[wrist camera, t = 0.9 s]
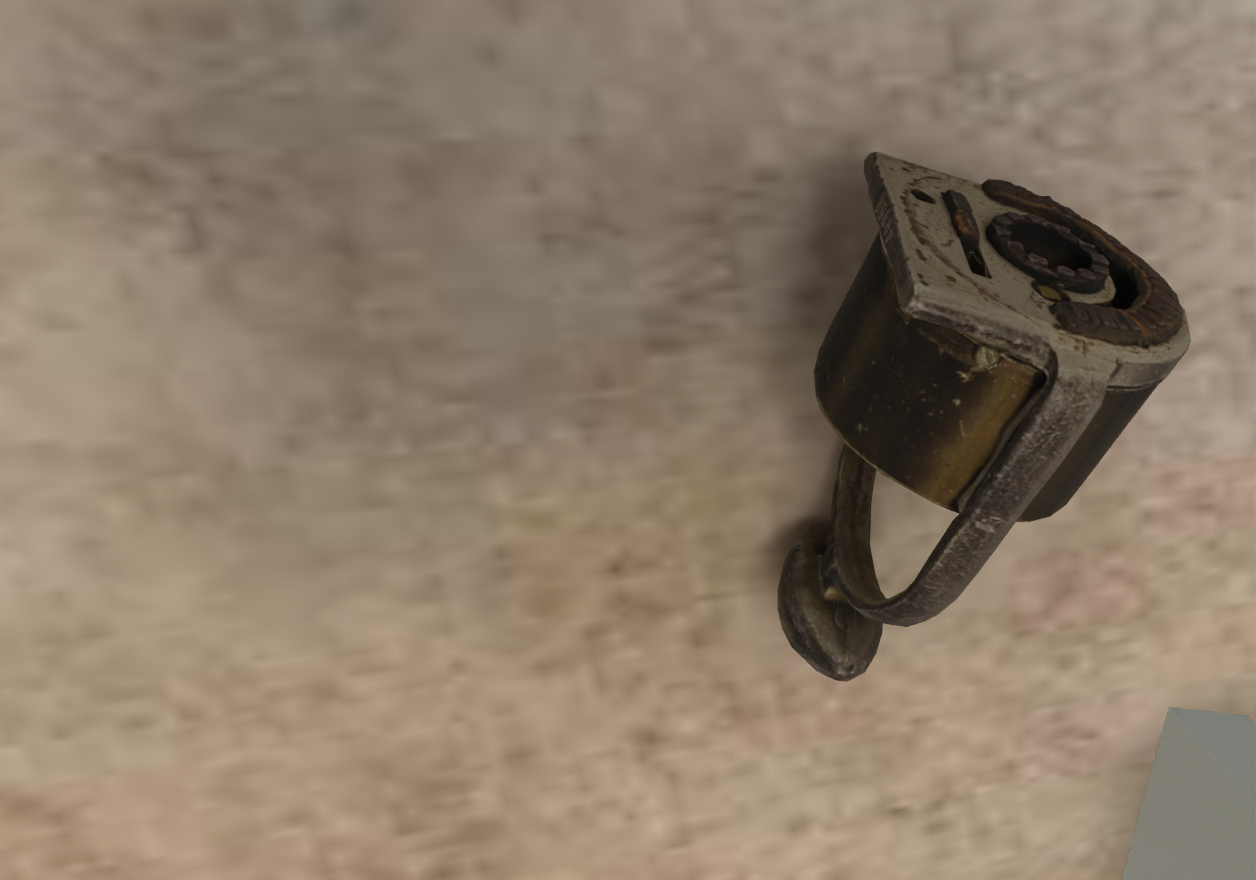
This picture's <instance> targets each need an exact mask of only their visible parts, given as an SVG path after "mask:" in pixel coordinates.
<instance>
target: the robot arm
mask: <svg viewBox="0 0 1256 880" xmlns="http://www.w3.org/2000/svg"><path fill="white" fill-rule="evenodd" d="M1121 880H1256V724H1255V723H1254V722H1253V721H1251V720H1250V719H1249V718H1248V717H1247V716H1246V715H1237V714H1228V713H1219V712H1210V711H1201V710H1192V709H1182V708H1173V707H1169V709H1168V713H1167V716H1166V720H1165V723H1164V727H1163V731H1162V734H1161V738H1160V742H1159V745H1158V749H1157V752H1156V756H1155V760H1154V763H1153V767H1152V771H1151V774H1150V778H1149V781H1148V785H1147V789H1146V792H1145V796H1144V800H1143V803H1142V807H1141V810H1140V814H1139V818H1138V821H1137V825H1136V829H1135V832H1134V836H1133V839H1132V843H1131V847H1130V850H1129V854H1128V858H1127V861H1126V865H1125V868H1124V872H1123V876H1122V879H1121Z"/></svg>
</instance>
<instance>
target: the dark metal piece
mask: <svg viewBox="0 0 1256 880" xmlns="http://www.w3.org/2000/svg"><path fill="white" fill-rule="evenodd" d="M864 174H865V177H866V180H867V184H868V189H869V197H870V201H871V204H872V207H873V211H874V214H875V217H876V220H877V223H878V226H879V229H880V231H879V233H878V235H877V237H876V239H875V241H874V243H873V245H872V247H871V249H870V251H869V253H868V255H867V257H866V259H865V261H864V262H863V264H862V266H861V268H860V270H859V272H858V274H857V276H856V278H855V280H854V282H853V284H852V286H851V288H850V290H849V292H848V294H847V296H846V298H845V300H844V302H843V303H842V305H841V307H840V309H839V311H838V313H837V315H836V317H835V319H834V321H833V322H832V324H831V326H830V328H829V330H828V332H827V335H826V337H825V339H824V341H823V343H822V345H821V347H820V349H819V353H818V357H817V361H816V365H815V370H814V381H815V390H816V398H817V401H818V404H819V406H820V409H821V411H822V413H823V414H824V416H825V417H826V418H827V420H828V421H829V423H830V424H831V425H832V427H833V428H834V430H835V431H836V433H837V434H838V435H839V436H840V437H841V438H842V440H843V441H844V442H845V444H844V447H843V450H842V453H841V456H840V459H839V466H838V474H837V479H836V482H835V485H834V491H833V499H832V508H831V516H832V524H831V523H828V522H823V523H820V524H816V525H813V526H810V527H809V528H808V529H806V530H805V531H804V532H802V533H801V535H800V536H799V538H798V540H797V541H796V543H795V544H794V546H793V548H792V549H791V551H790V552H789V554H788V556H787V557H786V559H785V561H784V565H783V570H782V574H781V578H780V582H779V586H778V612H779V616H780V621H781V625H782V629H783V631H784V633H785V635H786V637H787V639H788V641H789V643H790V645H791V647H792V648H793V649H794V650H795V651H796V652H797V653H798V654H800V655H801V656H802V657H803V658H804V659H805V660H806V661H807V662H808V663H809V664H810V665H811V666H812V667H813V668H814V669H815V670H816V671H818V672H820V673H821V674H823V675H825V676H828V677H830V678H832V679H835V680H838V681H849V680H851V679H853V678H855V677H857V676H859V675H860V674H862V673H864V672H865V671H866V669H867V668H868V666H869V664H870V663H871V661H872V660H873V658H874V656H875V654H876V652H877V648H878V645H879V642H880V638H881V635H882V625H883V623H885V624H891V625H898V626H904V627H908V626H911V625H914V624H918V623H921V622H924V621H926V620H928V619H930V618H932V617H934V616H936V615H938V614H939V613H940V612H941V611H943V610H944V609H945V608H946V607H948V606H949V605H950V604H951V603H952V602H954V601H955V600H956V599H957V598H958V597H959V595H960V594H961V593H962V592H963V591H964V589H965V588H966V587H967V586H968V584H969V583H970V582H971V581H972V579H973V578H974V577H975V576H976V575H977V573H978V572H979V571H980V569H981V568H982V567H983V565H984V564H985V563H986V561H987V560H988V559H989V557H990V556H991V555H992V553H993V552H994V550H995V549H996V548H997V546H998V545H999V544H1000V542H1001V541H1002V540H1003V538H1004V537H1005V536H1006V534H1007V533H1008V532H1009V530H1010V529H1011V528H1012V526H1013V525H1014V523H1015V522H1030V521H1034V520H1038V519H1042V518H1046V517H1050V516H1051V515H1053V514H1054V513H1055V512H1057V511H1058V510H1059V509H1061V508H1062V507H1063V506H1065V505H1066V504H1067V503H1068V502H1069V500H1070V499H1071V498H1072V496H1073V495H1074V494H1075V493H1076V491H1077V490H1078V489H1079V487H1080V486H1081V485H1082V484H1083V482H1084V481H1085V480H1086V478H1087V477H1088V476H1089V474H1090V473H1091V472H1092V471H1093V469H1094V468H1095V467H1096V465H1097V464H1098V463H1099V461H1100V460H1101V459H1102V457H1103V456H1104V455H1105V453H1106V452H1107V451H1108V450H1109V448H1110V447H1111V446H1112V444H1113V443H1114V442H1115V440H1116V439H1117V438H1118V436H1119V435H1120V434H1121V432H1122V431H1123V430H1124V428H1125V427H1126V426H1127V424H1128V423H1129V422H1130V421H1131V419H1132V418H1133V417H1134V415H1135V414H1136V413H1137V411H1138V410H1139V409H1140V408H1141V406H1142V405H1143V404H1144V402H1145V401H1146V400H1147V398H1148V397H1149V396H1150V394H1151V393H1152V392H1153V391H1154V389H1155V388H1156V387H1157V385H1158V384H1159V383H1161V382H1162V381H1163V380H1164V379H1165V378H1166V377H1167V376H1168V374H1169V373H1170V372H1171V371H1172V369H1173V368H1174V367H1175V365H1176V364H1177V363H1178V361H1179V360H1180V359H1181V358H1182V356H1183V355H1184V354H1185V352H1186V351H1187V350H1188V347H1189V345H1190V342H1191V339H1190V333H1189V327H1188V322H1187V318H1186V313H1185V310H1184V309H1183V307H1182V306H1181V305H1180V303H1179V300H1178V297H1177V294H1176V293H1175V292H1174V291H1173V290H1172V289H1171V287H1170V286H1169V285H1168V283H1167V282H1166V281H1165V280H1164V279H1163V278H1162V277H1161V276H1160V275H1159V274H1158V273H1157V272H1156V271H1155V270H1153V269H1152V268H1151V267H1150V266H1149V265H1148V264H1147V263H1146V262H1145V261H1144V260H1143V259H1142V258H1140V257H1139V256H1137V255H1136V254H1134V253H1133V252H1131V251H1130V250H1129V249H1128V248H1127V247H1125V246H1124V245H1122V244H1121V243H1120V242H1119V241H1118V240H1117V239H1116V238H1114V237H1113V236H1111V235H1109V234H1108V233H1107V232H1105V231H1103V230H1102V229H1101V228H1100V227H1098V226H1097V225H1095V224H1093V223H1091V222H1090V221H1088V220H1086V219H1083V218H1081V216H1079V215H1078V214H1076V213H1075V212H1074V211H1073V210H1071V209H1070V208H1068V207H1064V206H1062V205H1060V204H1059V203H1057V202H1055V201H1053V200H1052V199H1051V197H1050V196H1038V195H1036V194H1034V193H1032V192H1031V191H1028V190H1027V189H1025V188H1023V187H1021V186H1016V185H1013V184H1012V183H1010V182H1006V181H1002V180H990V179H988V180H987V181H985V182H984V183H983V184H982V185H981V184H977V183H974V182H971V181H967V180H964V179H960V178H957V177H954V176H950V175H947V174H944V173H940V172H937V171H934V170H931V169H928V168H925V167H922V166H918V165H915V164H912V163H909V162H906V161H903V160H900V159H897V158H894V157H891V156H888V155H885V154H882V153H879V152H873V153H870V154H869V155H868V156H867V158H866V159H865V160H864ZM876 469H877V470H878V471H880V472H881V473H882V474H883V475H885V476H887V477H888V478H890V479H892V480H894V481H895V482H897V483H899V484H901V485H903V486H904V487H906V488H908V489H910V490H911V491H913V492H915V493H917V494H918V495H920V496H922V497H924V498H926V499H927V500H929V501H931V502H933V503H935V504H937V505H940V506H942V507H944V508H947V509H949V510H951V511H954V512H957V513H959V515H958V516H957V517H956V518H955V519H954V520H953V521H952V523H951V524H950V526H949V527H948V529H947V530H946V532H945V533H944V535H943V536H942V538H941V540H940V541H939V543H938V544H937V546H936V547H935V549H934V550H933V552H932V553H931V555H930V556H929V558H928V560H927V561H926V563H925V564H924V566H923V568H922V569H921V571H920V573H919V574H918V576H917V577H916V579H915V581H914V582H913V583H912V584H911V585H910V586H909V587H908V588H907V589H906V590H905V591H903V592H901V593H899V594H897V595H895V596H893V597H891V598H888V599H886V598H885V596H884V595H883V593H882V592H881V590H880V588H879V584H878V581H877V578H876V575H875V571H874V565H873V559H872V554H871V548H870V522H871V501H872V492H873V485H874V480H875V475H876Z"/></svg>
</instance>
